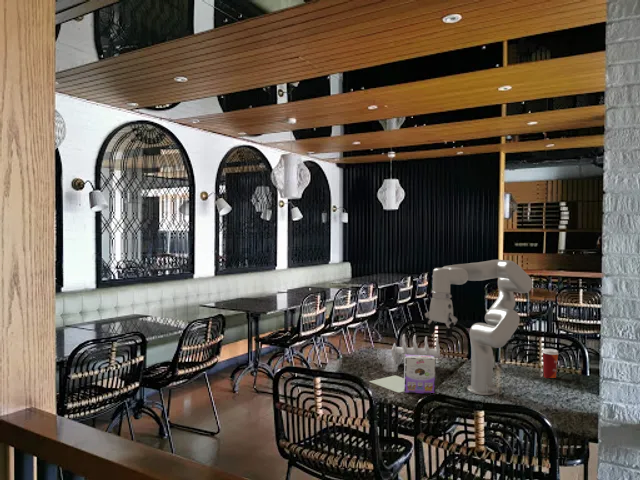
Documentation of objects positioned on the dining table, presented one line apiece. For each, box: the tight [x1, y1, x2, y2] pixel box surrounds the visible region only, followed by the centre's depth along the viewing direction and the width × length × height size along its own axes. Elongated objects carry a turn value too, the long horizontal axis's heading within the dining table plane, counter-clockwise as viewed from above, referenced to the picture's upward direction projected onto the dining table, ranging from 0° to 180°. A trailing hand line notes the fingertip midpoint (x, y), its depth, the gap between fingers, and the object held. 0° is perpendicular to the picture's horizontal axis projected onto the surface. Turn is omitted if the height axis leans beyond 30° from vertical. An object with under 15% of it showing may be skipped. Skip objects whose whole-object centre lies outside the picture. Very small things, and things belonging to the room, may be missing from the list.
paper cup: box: [541, 348, 559, 379], centre depth 251 cm, size 8×8×14 cm
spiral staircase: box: [391, 333, 441, 366], centre depth 267 cm, size 18×18×25 cm
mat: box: [368, 375, 405, 394], centre depth 237 cm, size 20×18×1 cm
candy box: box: [403, 354, 437, 395], centre depth 225 cm, size 14×6×16 cm, turn 84°
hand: (440, 334), depth 216 cm, fingers open, 9 cm apart
